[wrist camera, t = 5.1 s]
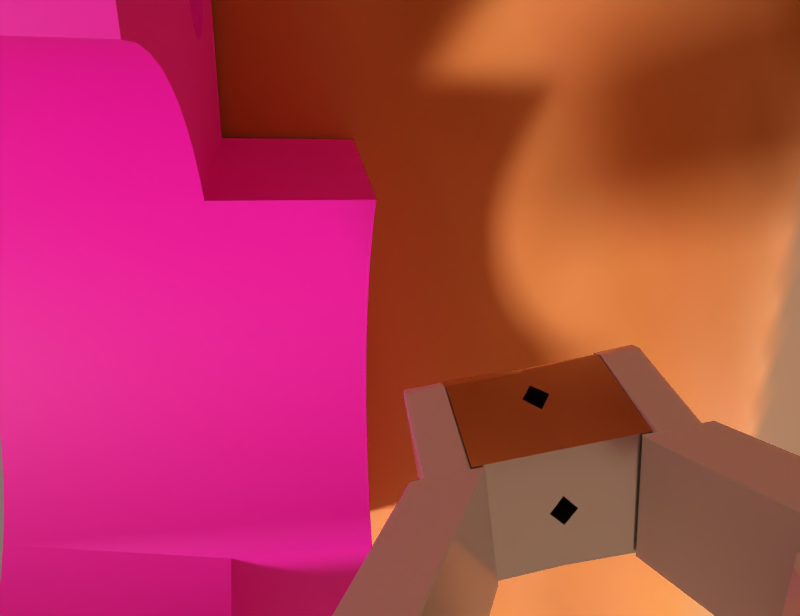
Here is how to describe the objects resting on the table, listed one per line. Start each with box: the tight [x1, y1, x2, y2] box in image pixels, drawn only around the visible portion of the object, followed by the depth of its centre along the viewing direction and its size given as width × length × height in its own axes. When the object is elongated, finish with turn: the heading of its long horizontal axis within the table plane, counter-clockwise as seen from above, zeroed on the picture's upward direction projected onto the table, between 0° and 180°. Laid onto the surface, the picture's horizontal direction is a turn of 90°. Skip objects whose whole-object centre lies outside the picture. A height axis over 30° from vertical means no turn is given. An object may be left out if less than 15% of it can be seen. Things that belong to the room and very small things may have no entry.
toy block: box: [0, 0, 376, 616], centre depth 11 cm, size 15×6×8 cm, turn 177°
